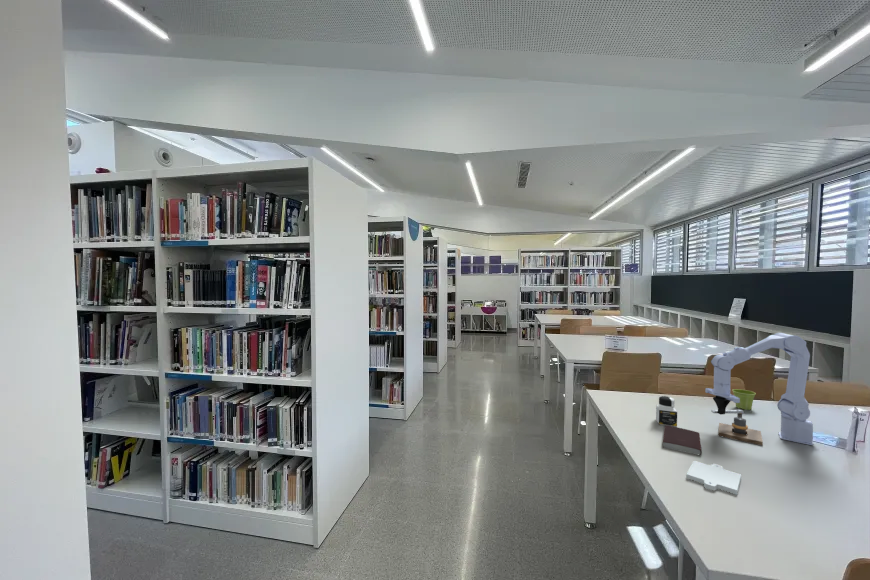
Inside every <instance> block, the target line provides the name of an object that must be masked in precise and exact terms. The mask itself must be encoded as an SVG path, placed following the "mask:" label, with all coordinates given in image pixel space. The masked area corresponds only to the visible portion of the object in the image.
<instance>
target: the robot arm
mask: <svg viewBox="0 0 870 580" xmlns="http://www.w3.org/2000/svg"><path fill="white" fill-rule="evenodd" d="M770 349H779V350H782V351H784V352H786V353H787V354H788V355H789V356H790V361H789V369H788V375H787V383H786V388H785V393H783V394H781V396H780V399H779V400H778V401H777V403H776V404H777V405H776V406H777V409H778V411H780V431H779V432H778V437H779V439H780V440H785V441H789V442H794V443H799V444H805V445H810V446H813V445H814V444H813V443H814V442H813V440H814V435H813V433H814V427H813V425H814V423H813V421H811V420H809V417H810V416H811V411H810V409H809V404H810V403H809V402H808V401H807V399H806V397H805V391H806V387H807V379H808V372H809V365H810V359H811V354H810V351H809V349H808V347H807V341H806V340H805V339H803V338H802V337H801V336H800V335H795V334H794V335H793V334H788V333H784V332H776V333H774V334H771V335H770V334H769V335H768V336H767V337H765V338H763V339H762V340H760V341H757V342H755V343H753V344H751V345H749V346H746V347H741V346H739V347H738V346H736V347H734V348H733V349H732V350H730V351H727V352H722V354H717V355H714V356H713V357H712V359H711V360H710V363H711V364H712V366H713V388H708V387H706V388H705V393H706V394H711V395H713V397H712V399H713V401H714V403H715V405H716V407H717V410H718V413H717V414H719V415H726V413H725V410H727V409H726V408H727V406H728V405H729V404H730V402H733V403H734V404H736V403H740V398H738V397H735V396H734V394H732V393H731V379H732V378H731V375H732V374H731V370H732V369H734V366H736V365H738V364H742V363H743V362H746V361H748V360H750V359H751V356H753V355H755V354H759V353H761V352H764V351H766V350H770Z"/></svg>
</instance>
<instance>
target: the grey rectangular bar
mask: <svg viewBox="0 0 870 580" xmlns="http://www.w3.org/2000/svg"><path fill="white" fill-rule="evenodd" d="M711 413H713V414H718V409H711ZM737 413H739V414H742V415H744V409H740V408H738V409H726V410H725V414H737Z"/></svg>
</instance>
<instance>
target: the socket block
mask: <svg viewBox="0 0 870 580" xmlns="http://www.w3.org/2000/svg"><path fill="white" fill-rule="evenodd" d="M736 415H737V416H736V417H738V418H743V414H739V413H736ZM718 435H719V436H718ZM717 436H718V437H721V436H723V437H722V438H726V437H727V439H730V438H731V440H735V441H739V442H745V443H748V444H754V445H757V446H758V445H759V446H762V447H763V442H764V441H763V436H762V431H761V430H757V429H754V428H752V429H751V428H748V429H747V430H746V435H744V434H739V433H735V432H734V427H733V426H732V424H729V423H722V422H718V432H717Z"/></svg>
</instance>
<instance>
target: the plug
mask: <svg viewBox="0 0 870 580" xmlns="http://www.w3.org/2000/svg"><path fill="white" fill-rule="evenodd" d="M731 425H732V426H733V427H734V432H735V433H739V434H744V435H746V430H747V429H749V426H748V425H747V419H745V418H743V417H742V418H738V417H737V416H735V417H733V422H731Z"/></svg>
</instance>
